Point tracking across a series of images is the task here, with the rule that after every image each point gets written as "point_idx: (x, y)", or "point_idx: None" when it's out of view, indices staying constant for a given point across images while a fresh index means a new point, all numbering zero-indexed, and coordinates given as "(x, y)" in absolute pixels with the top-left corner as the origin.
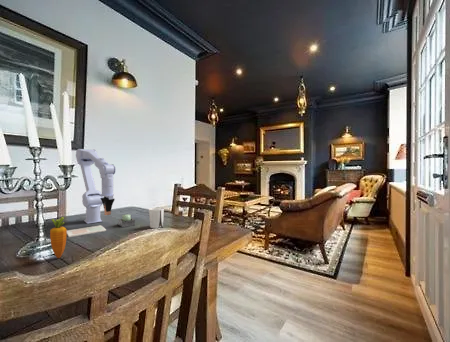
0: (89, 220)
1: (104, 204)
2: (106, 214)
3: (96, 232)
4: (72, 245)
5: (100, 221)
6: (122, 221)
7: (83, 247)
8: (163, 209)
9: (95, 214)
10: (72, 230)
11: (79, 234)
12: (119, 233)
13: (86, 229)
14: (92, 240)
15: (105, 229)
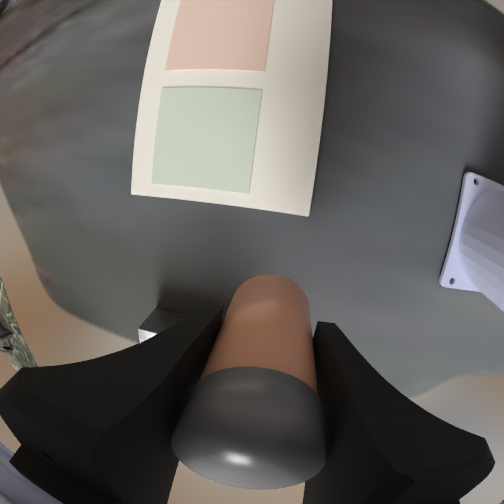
0: (486, 199)
1: (248, 375)
2: (239, 289)
3: (141, 125)
4: (44, 21)
5: (443, 269)
6: (148, 337)
7: (5, 63)
8: None
9: (494, 257)
10: (301, 3)
11: (155, 24)
12: (50, 233)
13: (249, 75)
14: (35, 90)
15: (139, 191)
